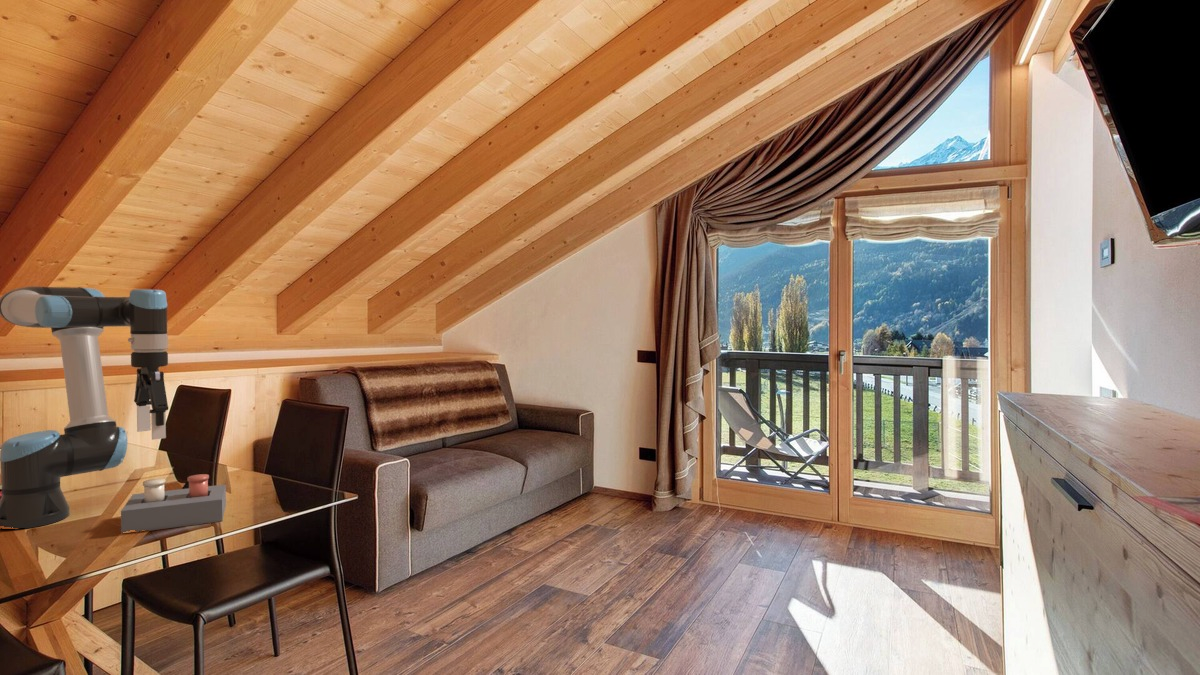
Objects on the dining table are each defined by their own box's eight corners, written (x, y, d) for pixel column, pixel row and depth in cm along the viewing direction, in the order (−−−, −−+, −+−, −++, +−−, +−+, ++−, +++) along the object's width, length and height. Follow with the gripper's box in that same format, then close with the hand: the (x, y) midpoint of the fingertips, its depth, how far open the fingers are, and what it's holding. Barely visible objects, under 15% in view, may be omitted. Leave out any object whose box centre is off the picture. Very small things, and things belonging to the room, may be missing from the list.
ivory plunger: (145, 504, 168) (144, 479, 168) (167, 502, 171) (166, 477, 170) (141, 509, 164) (141, 484, 164) (164, 507, 166) (164, 482, 166)
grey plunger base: (133, 515, 172) (132, 494, 171) (225, 504, 182) (225, 484, 182) (121, 534, 158) (120, 511, 157) (222, 521, 168) (222, 499, 168)
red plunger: (188, 499, 173) (188, 475, 173) (210, 497, 175) (209, 473, 175) (186, 504, 169) (186, 479, 168) (208, 502, 171) (208, 477, 171)
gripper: (118, 348, 161) (120, 429, 162) (144, 354, 145) (146, 444, 146) (153, 347, 167) (155, 426, 168) (182, 353, 150) (183, 439, 151)
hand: (151, 434), depth 157 cm, fingers open, 13 cm apart
